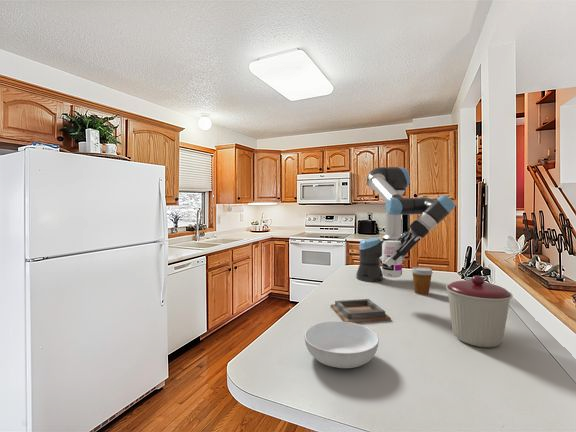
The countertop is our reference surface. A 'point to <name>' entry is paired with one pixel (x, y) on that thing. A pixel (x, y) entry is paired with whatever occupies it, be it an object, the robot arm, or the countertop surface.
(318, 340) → the serving bowl
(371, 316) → the jig plate
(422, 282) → the disposable coffee cup
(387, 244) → the supplement can
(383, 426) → the countertop surface
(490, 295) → the canister
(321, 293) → the countertop surface
